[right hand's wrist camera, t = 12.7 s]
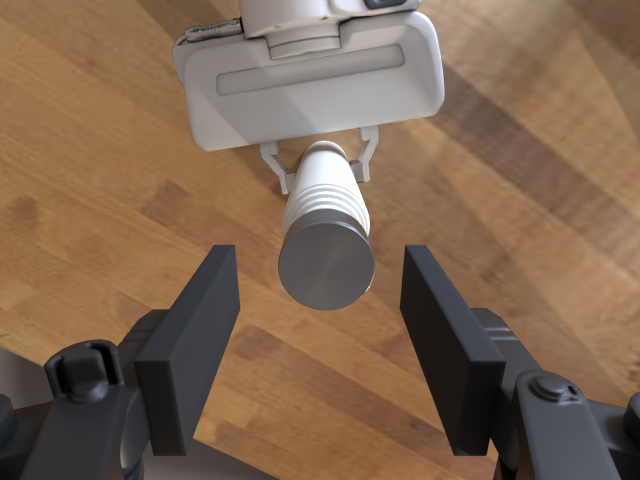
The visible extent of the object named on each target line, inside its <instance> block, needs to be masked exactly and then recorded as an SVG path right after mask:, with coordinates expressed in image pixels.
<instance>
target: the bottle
mask: <svg viewBox="0 0 640 480" xmlns="http://www.w3.org/2000/svg"><path fill="white" fill-rule="evenodd" d="M325 208H328V209H336V210H340V211H343V212H345V213H347V214H349V215H351V216H352V217H354V218H355V219H356V220H357V221H358V222H359V223H360V224H361V225H362V226H363V228H364V229H365V231H366V234H367V236H368V234H369V227H370V221H369V215H368V212H367V209H366V206H365V204H364V201H363V198H362V196H361V193H360V191H359V188H358V186H357V183H356V180H355V178H354V175H353V173H352V170H351V167H350V165H349V162H348V160H347V157H346V155H345V153H344V151H343V150H342V148H341V147H339V146H338V145H337V144H335V143H333V142H330V141H318V142H315V143H313V144H312V145H310V146H309V147H308V148H307V149H306V150H305V152H304V153H303V156H302V159H301V162H300V165H299V168H298V171H297V174H296V177H295V180H294V183H293V186H292V189H291V192H290V195H289V198H288V201H287V204H286V207H285V210H284V213H283V217H282V232H283V236H284V238H285V235H286V233H287V231H288V229H289V227H290V226H291V225H292V224H293V222H294V221H295V220H296V219H298V218H299V217H300V216H302V215H303V214H305V213H307V212H310V211H313V210H317V209H325Z"/></svg>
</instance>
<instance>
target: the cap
mask: <svg viewBox="0 0 640 480" xmlns="http://www.w3.org/2000/svg"><path fill="white" fill-rule="evenodd" d="M278 271H279V276H280V280H281V282H282V284H283V286H284V288H285V290H286V291H287V292H288V293H289V295H290V296H291V297H292V298H294V299H295V300H296V301H298V302H299V303H301V304H302V305H305V306H307V307H309V308H313V309H317V310H336V309H340V308H344V307H346V306H349V305H351V304H352V303H354V302H356V301H357V300H358V299H360V298H361V297H362V296H363V295H364V294H365V292H366V291H367V290H368V288H369V287H370V285H371V283H372V280H373V277H374V273H375V259H374V255H373V252H372V249H371V246H370V242H369V239H368V236H367V234H366V231H365V229H364V228H363V226H362V225H361V224H360V223H359V222H358V221H357V220H356V219H355V218H354V217H352V216H351V215H349V214H347V213H345V212H343V211H340V210H336V209H328V208H325V209H317V210H313V211H310V212H307V213H305V214H303V215H302V216H300V217H299V218H298V219H296V220H295V221H294V222H293V224H292V225H291V226H290V227H289V229H288V231H287V233H286V235H285V238H284V241H283V245H282V249H281V252H280V256H279V262H278Z"/></svg>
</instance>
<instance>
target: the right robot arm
mask: <svg viewBox="0 0 640 480" xmlns="http://www.w3.org/2000/svg"><path fill="white" fill-rule="evenodd" d="M239 311H240V300H239V288H238V277H237V265H236V254H235V245H214V246H213V248H212V249H211V251H210V252H209V253H208V255H207V256H206V258H205V259H204V261H203V262H202V263H201V265H200V266H199V268H198V269H197V271H196V272H195V274H194V275H193V276H192V278H191V279H190V281H189V282H188V284H187V285H186V286H185V288H184V289H183V291H182V292H181V294H180V295H179V296H178V298H177V299H176V301H175V302H174V304H173V305H172V306H171V308H170V309H154V310H152V311H151V312H149V313H148V314H146V315H145V316H143V317H142V318H140V319H139V320H138V321H137V322H136V324H135V325H134V326H133V327H132V329H131V330H130V332H128V334H127V335H126V336H125V337H124V339H123V342H120V344H119V345H118V346H117V347H116V345H115V344H113V343H112V342H111V341H107V340H101V339H99V340H87V341H84V342H80V343H76V344H73V345H71V346H69V347H66V348H64V349H62V350H60V351H59V352H57V353H56V354H55V355H53V356H52V357H50V359H49V360H48V361H47V362H46V363H45V365H44V368H45V371H46V374H47V377H48V381H49V384H50V387H51V390H52V393H53V396H54V399H53V401H50V402H47V403H42V404H37V405H33V406H28V407H24V408H20V409H15V410H14V408H13V406H12V403H11V400H10V398H8V397H7V396H5V395H4V394H0V480H143V478H144V465H143V460H142V453H143V451H144V449H145V447H146V445H147V443H148V441H149V439H150V441H151V445H152V450H153V454H154V456H186V454H187V451H188V448H189V446H190V443H191V440H192V438H193V435H194V432H195V430H196V427H197V424H198V422H199V419H200V416H201V413H202V411H203V408H204V405H205V403H206V400H207V397H208V395H209V392H210V389H211V386H212V384H213V381H214V378H215V376H216V373H217V370H218V368H219V365H220V362H221V359H222V357H223V354H224V351H225V349H226V346H227V343H228V341H229V338H230V335H231V332H232V330H233V327H234V324H235V322H236V319H237V316H238V314H239ZM400 311H401V314H402V316H403V319H404V322H405V324H406V327H407V330H408V332H409V335H410V338H411V341H412V343H413V346H414V349H415V351H416V354H417V357H418V359H419V362H420V365H421V368H422V370H423V373H424V376H425V378H426V381H427V384H428V386H429V389H430V392H431V395H432V397H433V400H434V403H435V405H436V408H437V411H438V413H439V416H440V419H441V422H442V424H443V427H444V430H445V432H446V435H447V438H448V440H449V443H450V446H451V449H452V451H453V454H454V456H486V455H487V450H488V445H489V441H490V437H491V439H492V441H493V443H494V445H495V447H496V449H497V451H498V453H499V455H498V460H497V464H496V468H495V473H494V477H493V480H640V392H639V393H636V394H634V395H633V396H632V397H631V398H630V400H629V403H628V406H627V408H624V407H619V406H615V405H610V404H606V403H601V402H597V401H592V400H589V399H586V397H585V395H584V394H583V393H582V391H581V390H580V388H578V387H577V386H576V385H575V384H573V383H572V382H571V381H569V380H568V379H566V378H564V377H562V376H560V375H558V374H555V373H551V372H548V371H545V370H543V369H542V368H541V367H540V365H539V364H538V363H537V362H536V361H535V359H534V358H533V357H532V356H531V354H530V353H529V352H528V351H527V349H526V348H525V347H524V346H523V344H522V343H521V342H520V341H519V340H517V337H516V336H515V335H514V333H513V332H512V331H510V328H509V327H508V326H507V325H506V323H505V322H504V321H503V320H502V318H501V317H499V316H498V315H496V314H494V313H493V312H491V311H490V310H488V309H487V308H469V306H468V305H467V304H466V302H465V301H464V299H463V298H462V296H461V295H460V294H459V292H458V291H457V289H456V288H455V286H454V285H453V284H452V282H451V281H450V279H449V278H448V276H447V275H446V274H445V272H444V271H443V269H442V268H441V266H440V265H439V263H438V262H437V261H436V259H435V258H434V256H433V255H432V253H431V252H430V251H429V249H428V248H427V246H426V245H405V254H404V265H403V277H402V288H401V300H400Z"/></svg>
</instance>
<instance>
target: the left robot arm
mask: <svg viewBox="0 0 640 480" xmlns="http://www.w3.org/2000/svg"><path fill="white" fill-rule="evenodd" d="M421 2H422V0H238V4H239V8H240V13H241V17H240V18H235V19H230V20H225V21H220V22H218V23H214V24H211V25H208V26H207V25H206V26H201V25H198V26H192V27H189V28H187V29H185V34H183V35H182V36H180V37H179V38H178V39H177V40H176V42H175V44H174V46H173V49H172V57H173V62H174V65H175V69H176V73H177V77H178V79H179V81H180V83H181V84H182V85H183V86H184V90H185V100H186V108H187V114H188V120H189V125H190V130H191V135H192V138H193V141H194V142H195V143H196V144H197V145H198V146H199V147H200V148H202V149H203V150H204V151H215V150H221V149H227V148H233V147H240V146H246V145H252V144H258V143H259V147H260V152H261V157H262V158H263V160H264V161H265V162H266V163H267V164H268V165H269V166H270V168H271V169H272V170H273V171H274V172H275V173H276V175H279V180H280V185H281V190H282V193H283V194H290V192H291V189H292V186H293V183H294V180H295V177H296V174H297V169H294V170H287V168H286V167H285V166H284V165H283V163H282V162H281V161H280V160H279V158H278V157H277V156H276V155H277V154H278V152H279V151H280V146H279V140H283V139H290V138H296V137H302V136H309V135H315V134H321V133H327V132H334V131H340V130H346V129H352V128H359V134H360V138H361V139H362V140H363V141H365V144H364V146H363V149H362V151H361V153H360V156H359V158H358V160H352V161H349V162H350V167H351V170H352V173H353V175H354V178H355V180H356V183H363V182H370V176H369V167H368V161H370V159H371V156H372V154H373V152H374V150H375V147H376V145H377V143H378V140H379V132H378V124H384V123H390V122H396V121H402V120H409V119H415V118H421V117H427V116H433V115H435V114H436V113H437V111H438V110H439V108H440V107H441V105H442V103H443V101H444V79H443V70H442V62H441V55H440V49H439V44H438V39H437V35H436V32H435V29H434V27H433V25H432V23H431V21H430V20H429V19H428V18H427V17H426V16H425V15H424V14H422V13H420V12H417V11H416V9H417V8H418V7H419V6H420V4H421ZM244 33H245V35H244ZM214 38H215V39H214ZM217 38H218V39H217ZM210 39H212V40H210ZM185 40H187V41H188V42H189V43H190V44H184V45H181V44H182V43H183V42H184V41H185ZM206 40H207V41H206Z"/></svg>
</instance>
